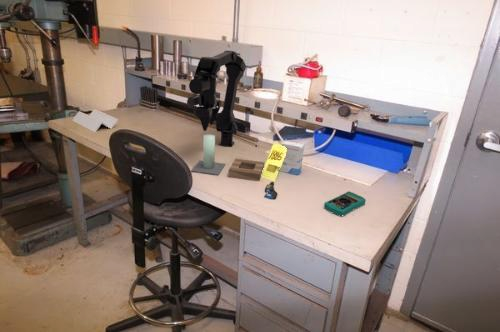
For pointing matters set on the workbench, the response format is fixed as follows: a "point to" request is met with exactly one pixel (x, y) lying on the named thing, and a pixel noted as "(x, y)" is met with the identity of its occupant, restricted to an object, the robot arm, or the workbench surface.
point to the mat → (215, 171)
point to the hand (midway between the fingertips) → (208, 127)
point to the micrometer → (270, 191)
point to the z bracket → (94, 120)
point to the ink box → (293, 157)
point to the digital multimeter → (344, 203)
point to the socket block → (246, 169)
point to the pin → (209, 151)
